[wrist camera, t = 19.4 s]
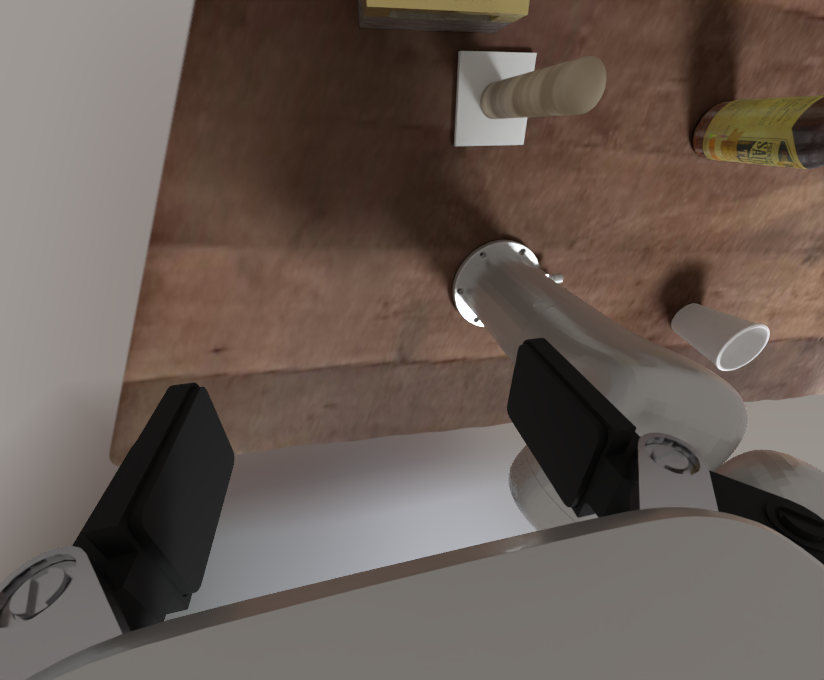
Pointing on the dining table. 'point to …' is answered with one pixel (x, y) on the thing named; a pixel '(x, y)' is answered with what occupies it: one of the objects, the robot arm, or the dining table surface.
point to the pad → (471, 82)
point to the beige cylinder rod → (547, 91)
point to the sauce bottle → (764, 132)
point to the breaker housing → (441, 14)
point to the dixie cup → (720, 335)
